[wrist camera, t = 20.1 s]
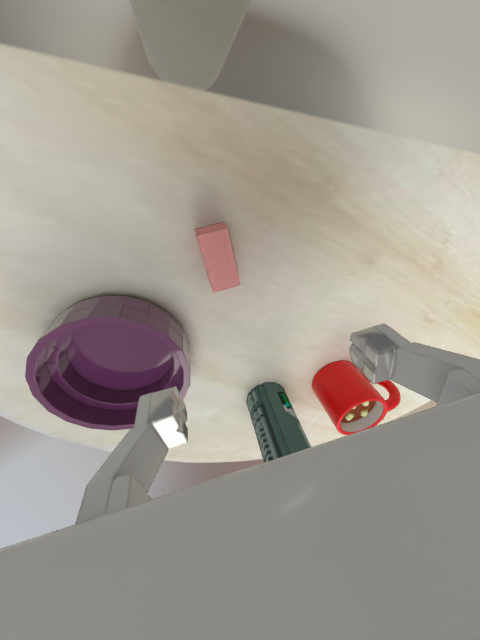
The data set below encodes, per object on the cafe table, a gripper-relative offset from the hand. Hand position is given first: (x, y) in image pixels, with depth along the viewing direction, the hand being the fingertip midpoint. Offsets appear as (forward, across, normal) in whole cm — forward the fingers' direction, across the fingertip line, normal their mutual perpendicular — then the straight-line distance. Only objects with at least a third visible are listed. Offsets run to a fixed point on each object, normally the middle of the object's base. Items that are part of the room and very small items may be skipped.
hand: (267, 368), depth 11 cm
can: (+19, -2, +25) cm, 32 cm away
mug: (+19, -16, +26) cm, 36 cm away
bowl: (+19, +14, +9) cm, 25 cm away
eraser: (+19, 0, 0) cm, 19 cm away
